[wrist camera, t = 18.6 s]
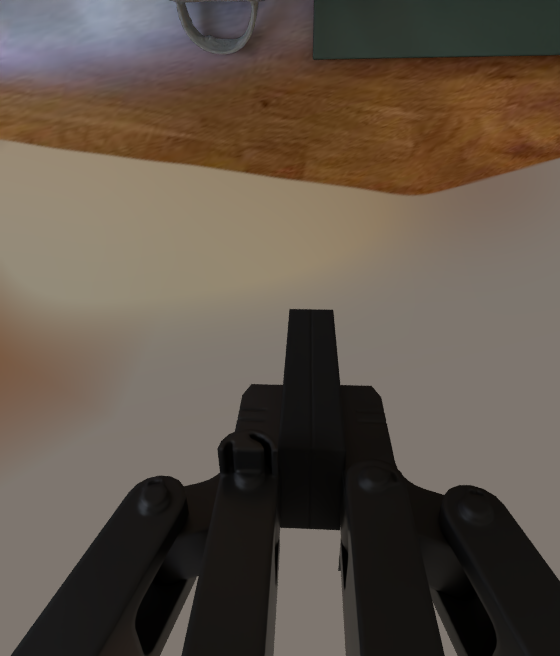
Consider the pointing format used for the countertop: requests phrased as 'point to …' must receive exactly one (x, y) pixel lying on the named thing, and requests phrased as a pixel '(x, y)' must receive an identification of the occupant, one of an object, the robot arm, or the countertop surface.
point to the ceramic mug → (210, 42)
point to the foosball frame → (435, 28)
